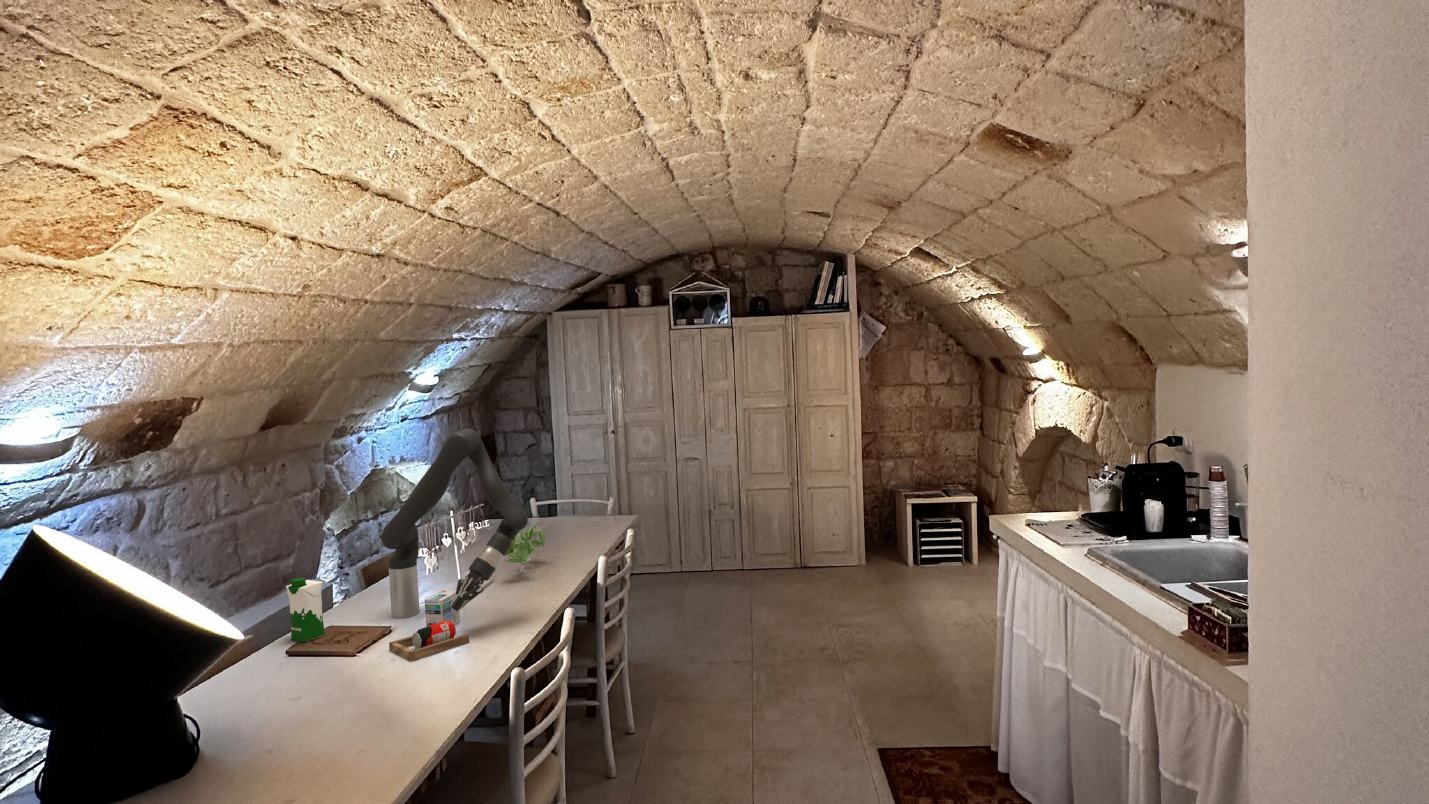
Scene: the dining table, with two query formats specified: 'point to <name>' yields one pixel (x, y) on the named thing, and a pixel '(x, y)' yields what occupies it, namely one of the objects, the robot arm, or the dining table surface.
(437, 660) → the dining table surface
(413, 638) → the beverage can
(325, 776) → the dining table surface
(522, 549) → the plant cuttings
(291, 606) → the milk carton
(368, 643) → the dining table surface
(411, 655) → the frame
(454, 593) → the light bulb box
